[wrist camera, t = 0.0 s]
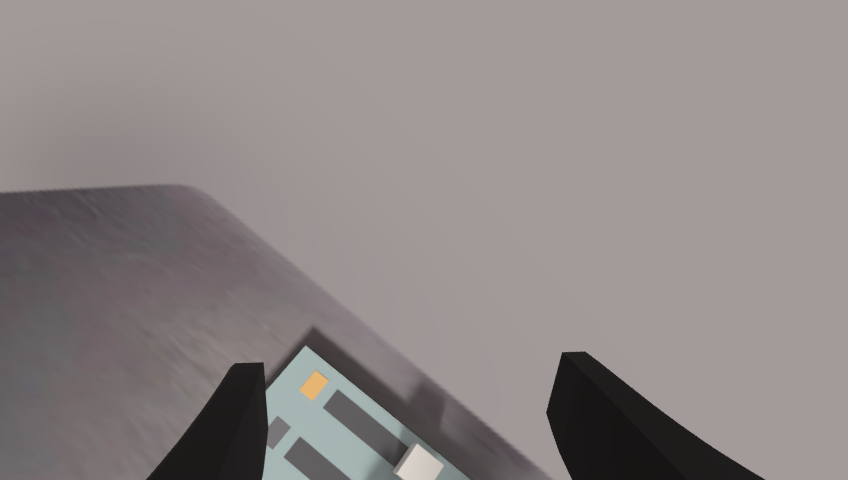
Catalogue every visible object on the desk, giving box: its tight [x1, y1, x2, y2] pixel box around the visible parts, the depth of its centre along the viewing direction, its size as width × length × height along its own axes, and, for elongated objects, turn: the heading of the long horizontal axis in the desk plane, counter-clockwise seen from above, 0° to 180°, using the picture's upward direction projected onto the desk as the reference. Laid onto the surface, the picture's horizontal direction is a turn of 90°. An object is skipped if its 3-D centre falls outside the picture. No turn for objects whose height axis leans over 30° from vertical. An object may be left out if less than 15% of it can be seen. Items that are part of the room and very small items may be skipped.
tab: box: [392, 444, 444, 480], centre depth 37 cm, size 2×2×3 cm
